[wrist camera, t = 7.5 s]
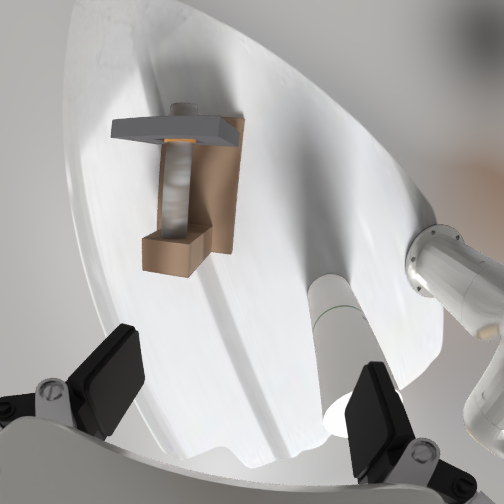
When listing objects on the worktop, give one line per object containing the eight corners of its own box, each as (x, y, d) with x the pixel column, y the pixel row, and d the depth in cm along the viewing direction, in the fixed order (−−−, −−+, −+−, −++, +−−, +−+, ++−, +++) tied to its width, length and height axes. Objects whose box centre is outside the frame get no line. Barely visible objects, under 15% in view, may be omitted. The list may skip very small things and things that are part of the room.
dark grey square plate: (239, 132, 35) (219, 116, 24) (238, 147, 36) (217, 136, 24) (158, 131, 36) (112, 119, 25) (156, 144, 37) (110, 137, 25)
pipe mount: (244, 119, 37) (228, 99, 26) (232, 252, 43) (213, 281, 32) (168, 118, 38) (128, 103, 27) (160, 242, 44) (122, 266, 32)
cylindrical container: (325, 322, 45) (349, 445, 21) (298, 293, 44) (306, 416, 20) (359, 295, 43) (413, 408, 19) (333, 265, 42) (380, 371, 18)
